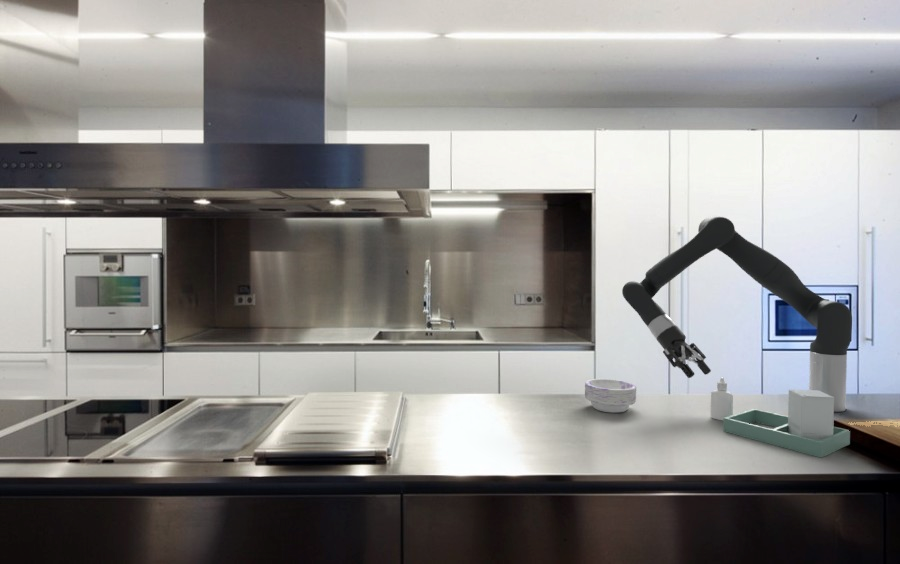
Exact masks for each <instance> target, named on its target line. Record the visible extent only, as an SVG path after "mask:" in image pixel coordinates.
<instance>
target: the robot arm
mask: <svg viewBox="0 0 900 564" xmlns="http://www.w3.org/2000/svg"><path fill="white" fill-rule="evenodd" d="M698 225H699V226H698V233H696V235H695V236H694V237H693V238H691V239H690V240H689V241H688V242H687V243H686V244H684V245H682V246H681V247H680V248H678V249H676V250H674V251H673V252H672V253H669V254H668V255H667V256H665V257H663V258H662V259H661V260H660V261H658V262H657V263H655V264H654V265H653V266H652V267H651V268H649V269H648V270H647V271H646V273H645V277H644V278H643V279H642V280H641V281H640V282H638V281H635V280H634V281H633V280H632V281H628V282H626V283H625V284H624V286H623V287H622V290H621V291H622V297H623V298H624V299H625V301H626V302H627V303H628V304H629V306H630V307H631V308H632V309H633V310H634V311H635V312H636V313H637V315H639V317H640V319H641V321H642V322H643V323H644V324H645V325H646V326H647V328H648V329H649V331H650V333H651V334H652V335H653V337H654V338H655V339H656V341H657V342H658V343H659V345H660V346H661V347H662V349H664V350H663V351H662V354H663V355H664V356H665V357H666V359H667V360H668V362H669V363H670V364H671V365H672V367H673V368H676V367H677V368H678V369H680V370H681V371H682V372H683V373H684V374H685V376H686V377H687V378H688V379H690V378H692V377H694V376H695V372H694V371H693V369H692V368H691V367H690V366H689V364H688V363H687V362H686V360H687V361H688V362H692V363H694V364H696V365H697V367H698V368H699V369H700V371H701V372H702V374H704V375H709V373H711V372H712V369H710V366H708V365H707V363H706V362H705V361H704V360H705V359H707V357H706V355H705V354H704V353H703V352H702V351H701V349H699V347H698V346H697V345H696V344H695V343H694V342H692V343H691V344H688V343H687V342H686V339H687V337H686V335H685V334H684V332H683V331H682V330H681V329H680V327H679V326H678V325H677V324H676V323H675V321H674V320H673V319H672V318H671V317H670V316H668V314H667V313H666V312H665V310H664V309H663V308H662V307H661V306H660V305H659V304H658V303H657V302H656V301H654V299H653V298H654V297H655V296H656V295H657V293H658V292H659V291H660V290H661V288H663V287H664V286H665V285H666V284H668V283H670V282H671V281H672V280H673V279H675V278H676V277H677V276H678V275H680V274H681V273H682V272H683V271H685V270H686V269H688V268H689V267H690V266H691V265H693V264H694V263H695V262H697V261H698V260H700V259H701V258H703V257H705V256H706V255H707V254H709V253H711V252H712V251H714V250H718V251H719V252H721V253H723V254H724V255H725V256H727V257H728V258H730V259H731V260H732V261H733V262H734V263H735V264H736V265H737V266H738V267H739V268H740V269H741V270H742V271H744V272H745V273H746V274H747V275H748V276H750V277H751V278H752V280H754V281H755V282H756V283H758V284H759V285H760V286H762V287H763V288H765V290H767V291H769V292H771V293H772V294H773V295H774V296H776V297H778V298H779V299H780V300H781V301H783V302H785V303H787V304H788V305H789V306H791V308H793V309H794V310H795V311H796V312H797V313H798V314H799V315H800V316H802V318H804V319H805V320H806V321H807V323H809V324H810V325H811V326H812V327H814V328H816V335H815V339H814V340H813V341H811V342H810V344H809V376H808V377H809V379H808V380H809V382H808V387H809V389H808V390H818V391H821V392H823V393H825V394H828V395H830V396H832V397H834V413H835V412H836V413H837V412H841V413H842V412H844V411H846V404H847V403H846V402H847V401H846V398H847V362H848V361H847V358H848V357H847V356H848V348H849V346H850V344H851V342H852V341H851V338H852V326H853V316H852V313H851V309H850V308H849V307H848V306H847V305H846V304H844V303H842V302H839V301H835V300H827V299H825V298H823V297H822V296H820V295H819V294H817V293H816V292H814V291H812V290H811V289H809V288H808V287H807V286H806V285H805V284H804V283H803V282H802V280H801V278H800V277H799V276H798V275H797V274H796V273H795V271H794V270H793V269H792V268H791V267H790V266H789V265H788V264H787V263H785V262H784V261H782V260H781V259H779V258H778V257H777V256H775V255H774V254H772V253H770V251H768V250H765V249H764V248H762V247H760V246H758V245H756V244H755V243H752V242H750V241H749V240H748V239H746V238H745V237H744V236H742V235H741V234H740V233H739V232H738V231H736V229H735V228H736V227H735V225H734V223H733V221H731V220H730V219H729V218H727V217H725V216H718V215H711V216H708V217H706V218H704V219H703V220H701V222H700V223H699V224H698Z"/></svg>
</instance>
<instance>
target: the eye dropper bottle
mask: <svg viewBox="0 0 900 564" xmlns="http://www.w3.org/2000/svg"><path fill="white" fill-rule="evenodd" d="M727 385H728V383H727V382H726V381H725V380H724V377H720V379H719V381H717V385H716V389H714V390H712V391H711V392H710V414H709V415H710V417H711V419H713V420H717V421H722V422H723V418H725V417H728V416H731V415H734V414H733V413H734V407H733V406H734V395H733V394H732V393H731V392H730V391H728V388H727V387H728V386H727Z"/></svg>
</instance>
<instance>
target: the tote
mask: <svg viewBox="0 0 900 564" xmlns="http://www.w3.org/2000/svg"><path fill="white" fill-rule="evenodd" d="M755 421H756V422H755ZM752 422H753V423H757V422H759V423H758V424H761V423H763V424H762V425H766V424H767V426H769V427H770V426H771V427H774V428H768V427H765V426H760V425H756V424H753V423H752ZM749 423H750V424H749ZM849 430H850V429H846V428H842V427H837V426H833V435H832V436H830V437H828V438H825V439H823V440H821V441H817V440H813V439H809V438H805V437H801V436H797V435H793V434H789V433H788V415H783V414H779V413H776V412H775V413H774V412H770V411H766V410H761V409H756V408H752V409H748V410H746V411H742V412H739V413H735V414H733V415H731V416H728V417H725V418H723V421H722V431H723V432H726V433H730V434H734V435H737V436H739V437H740V436H741V437H743V438H744V437H745V438H747V439H751V440H755V441H757V442H758V441H759V442H762V443H767V444H770V445H772V446H773V445H774V446H777V447H781V448H783V449H788V450H791V451H795V452H799V453H803V454H807V455H810V456H814V457H817V458H824V457H825V456H828V455H830V454H832V453H834V452H837V451H838V450H840V449H843V448H844V447H847V446H849V445H850V444H851V430H850V431H849Z"/></svg>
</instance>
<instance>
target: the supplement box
mask: <svg viewBox="0 0 900 564" xmlns="http://www.w3.org/2000/svg"><path fill="white" fill-rule="evenodd" d="M787 397H788V401H787V403H788V404H787V405H788V406H787V407H788V408H787V416H788V433H789V434H793V435H797V436H801V437H805V438H809V439H813V440H817V441H821V440H823V439H825V438H828V437H830V436H832V435H833V427H835V426H834V424H835V423H834V416H835V415H834V413H835V412H834V397H832V396H830V395H828V394H825V393H823V392H821V391H818V390H809V389H788V396H787Z"/></svg>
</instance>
